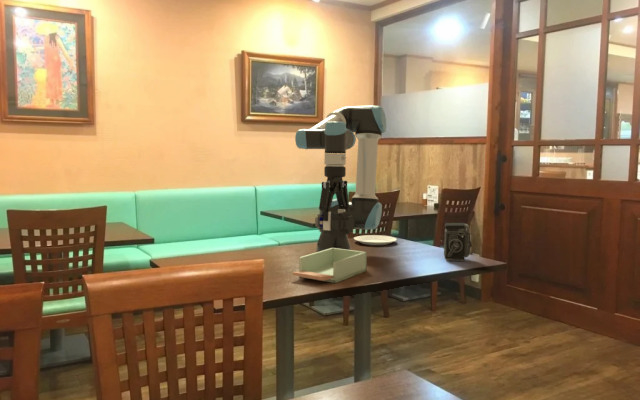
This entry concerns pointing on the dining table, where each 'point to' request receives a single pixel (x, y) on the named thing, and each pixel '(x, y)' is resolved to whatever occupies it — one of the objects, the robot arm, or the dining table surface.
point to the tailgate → (313, 275)
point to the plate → (375, 239)
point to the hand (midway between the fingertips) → (334, 228)
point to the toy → (337, 224)
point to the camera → (457, 241)
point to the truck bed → (334, 263)
